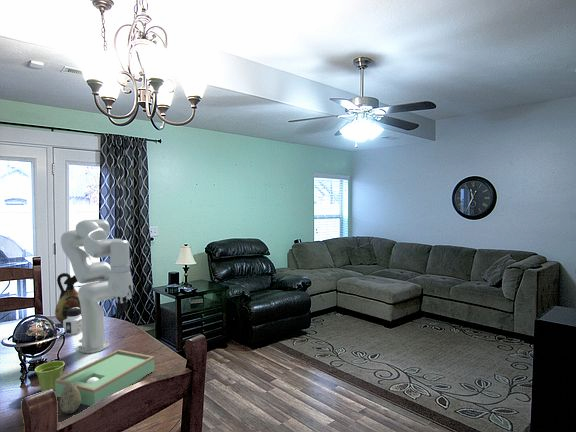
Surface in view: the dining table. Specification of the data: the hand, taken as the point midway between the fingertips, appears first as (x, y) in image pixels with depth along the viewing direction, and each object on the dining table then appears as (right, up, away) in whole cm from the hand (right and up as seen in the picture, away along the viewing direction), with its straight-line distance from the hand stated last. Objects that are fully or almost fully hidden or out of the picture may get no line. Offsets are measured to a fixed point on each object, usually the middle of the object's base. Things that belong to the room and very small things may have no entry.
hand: (122, 311), depth 153 cm
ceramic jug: (-56, -22, +55) cm, 82 cm away
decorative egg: (-1, -25, -34) cm, 42 cm away
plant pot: (-18, -25, -18) cm, 36 cm away
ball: (-1, -21, -21) cm, 30 cm away
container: (-45, -23, +42) cm, 66 cm away
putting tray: (+2, -24, -15) cm, 28 cm away
